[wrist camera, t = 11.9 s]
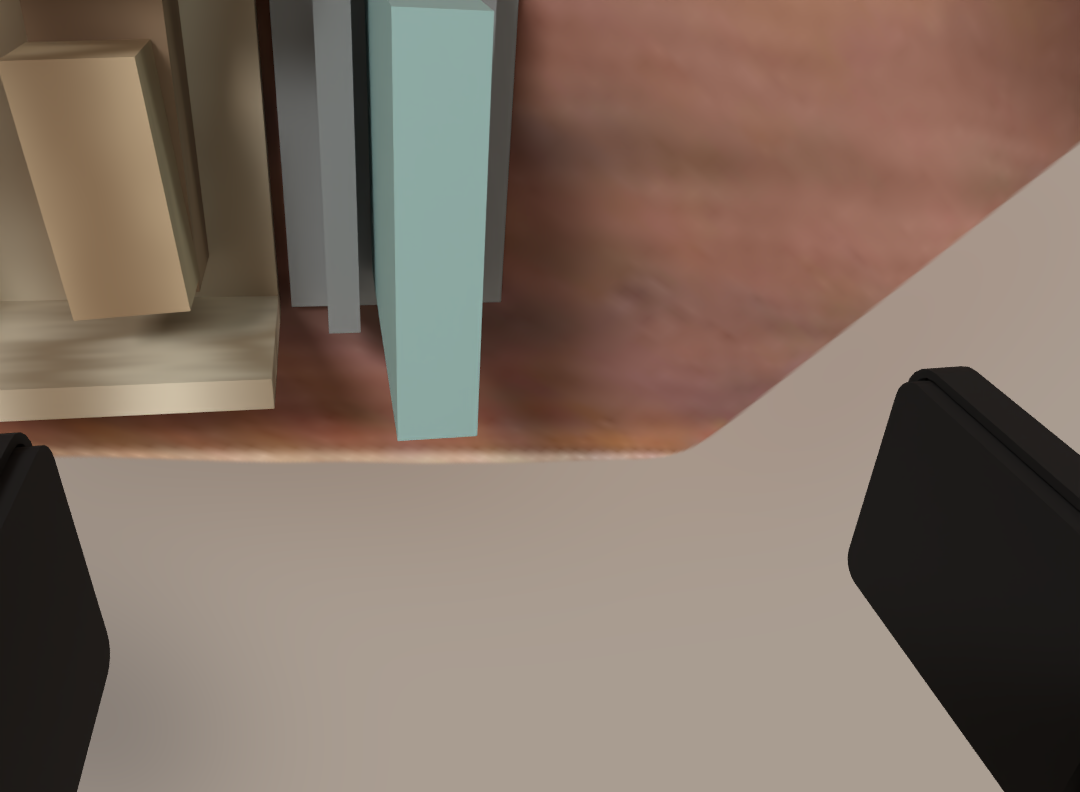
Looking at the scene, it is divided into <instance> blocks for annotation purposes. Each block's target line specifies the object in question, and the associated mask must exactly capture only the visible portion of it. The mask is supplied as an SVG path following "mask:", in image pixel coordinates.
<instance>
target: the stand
mask: <svg viewBox="0 0 1080 792" xmlns="http://www.w3.org/2000/svg"><path fill="white" fill-rule="evenodd" d="M481 1H482V2H484V3H485V4H486V5H487V6H488V7H490V8H491V9H492V10H493V11H494V27H493V51H492V76H491V101H490V126H489V151H488V176H487V201H486V226H485V251H484V276H483V301H482V302H501V290H502V273H503V256H504V239H505V222H506V205H507V188H508V171H509V154H510V137H511V120H512V103H513V86H514V69H515V52H516V36H517V19H518V2H519V0H481ZM269 3H270V17H271V30H272V44H273V58H274V71H275V85H276V98H277V112H278V126H279V139H280V153H281V167H282V180H283V194H284V207H285V221H286V235H287V248H288V262H289V276H290V289H291V303H292V307H304V306H328V320H329V333H359V332H361V331H360V305H377V299H376V293H375V286H374V279H373V273H372V245H371V211H370V177H369V143H368V108H367V74H366V40H365V6H364V0H269Z"/></svg>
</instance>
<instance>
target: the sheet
mask: <svg viewBox="0 0 1080 792" xmlns="http://www.w3.org/2000/svg"><path fill="white" fill-rule="evenodd" d="M364 6H365V40H366V74H367V108H368V143H369V177H370V211H371V245H372V273H373V279H374V286H375V293H376V299H377V306H378V313H379V319H380V326H381V333H382V339H383V346H384V353H385V359H386V366H387V372H388V379H389V386H390V392H391V399H392V406H393V412H394V419H395V426H396V432H397V439H398V441H404V440H420V439H436V438H452V437H467V436H477V426H478V401H479V376H480V351H481V326H482V301H483V276H484V251H485V226H486V201H487V176H488V151H489V126H490V101H491V76H492V51H493V27H494V11H493V10H492V9H491V8H490V7H488V6H487V5H486V4H485V3H484V2H482V1H481V0H364Z"/></svg>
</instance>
